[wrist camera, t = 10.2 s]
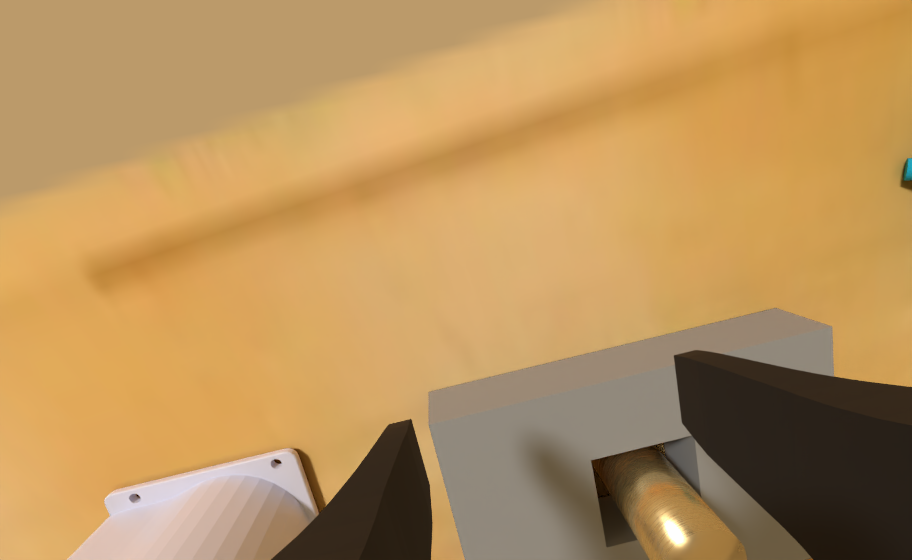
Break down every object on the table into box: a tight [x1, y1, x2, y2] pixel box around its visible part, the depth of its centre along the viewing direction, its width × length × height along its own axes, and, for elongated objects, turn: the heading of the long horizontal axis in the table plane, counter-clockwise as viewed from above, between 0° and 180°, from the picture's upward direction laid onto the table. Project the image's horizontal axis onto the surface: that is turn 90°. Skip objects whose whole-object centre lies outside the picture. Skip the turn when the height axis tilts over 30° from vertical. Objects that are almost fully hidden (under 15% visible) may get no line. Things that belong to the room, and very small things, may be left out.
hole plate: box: [429, 308, 834, 560], centre depth 21 cm, size 18×12×3 cm, turn 103°
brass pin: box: [591, 445, 747, 560], centre depth 19 cm, size 3×3×7 cm
